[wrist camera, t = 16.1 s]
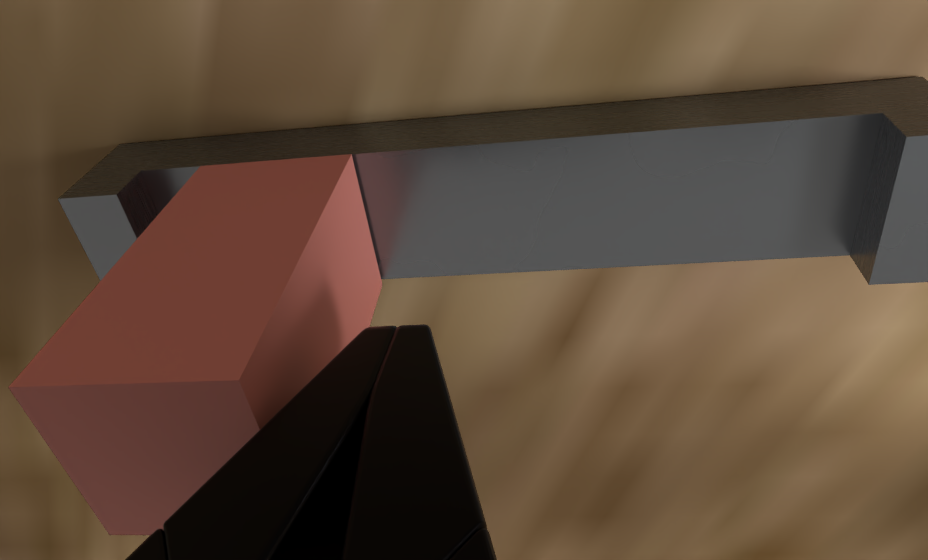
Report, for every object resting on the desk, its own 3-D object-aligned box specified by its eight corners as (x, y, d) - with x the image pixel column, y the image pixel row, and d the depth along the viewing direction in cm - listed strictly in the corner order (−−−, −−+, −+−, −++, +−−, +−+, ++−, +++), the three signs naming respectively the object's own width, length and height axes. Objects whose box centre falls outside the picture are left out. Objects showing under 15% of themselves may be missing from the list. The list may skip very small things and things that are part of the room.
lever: (351, 153, 11) (239, 380, 7) (382, 284, 12) (304, 535, 8) (200, 166, 11) (8, 387, 7) (247, 291, 13) (109, 534, 9)
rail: (922, 76, 11) (990, 130, 9) (886, 213, 12) (941, 281, 10) (120, 144, 13) (57, 198, 11) (168, 255, 14) (119, 318, 12)
